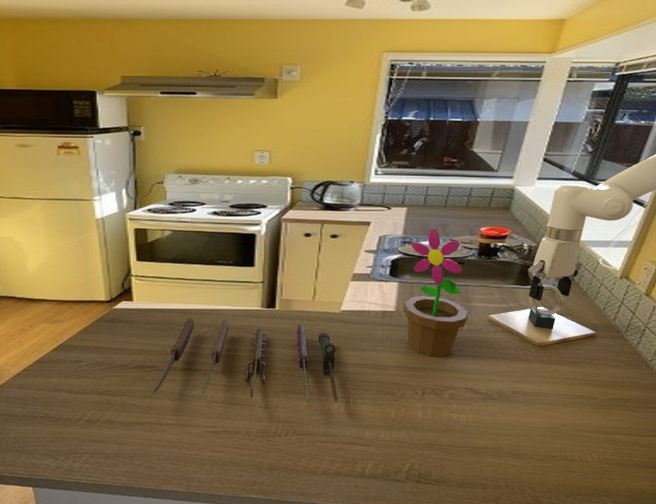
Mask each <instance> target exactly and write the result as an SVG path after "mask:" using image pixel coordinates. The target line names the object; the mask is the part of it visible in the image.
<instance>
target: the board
mask: <svg viewBox="0 0 656 504" xmlns="http://www.w3.org/2000/svg"><path fill="white" fill-rule="evenodd" d="M530 309H531V308H527V309H521V310H514V311H508V312H501V313H495V314H489V315H488V317H487V319H488V320H490V321H492V322H494V323H495V324H497V325H499V326H501V327H503V328H504V329H506V330H508V331H510V332H511V333H513V334H515V335H517V336H518V337H520V338H522V339H524V341H525V340H526V341H527V342H529V343H530V344H532V345H534V346H536V347H543V346H549V345H553V344H558V343H565V342H568V341H573V340H579V339H584V338H589V337H594V336H596V333H597V332H596V331H594V330H592V329H590V328H588V327H586V326H583V325H581V324H579V323H577V322H575V321H572V320H570V319H568V318H566V317H564V316H562V315H560V314H557V313H555V314H552V315H553V316H554V317H555V322H554V326H553V329H547V328H539V327H534V325H533V324H532V322H531V321H530V320H529V318H528V317H529V313H530ZM537 309H545V310H548V309H547V308H545V307H543V306H539V307H537Z"/></svg>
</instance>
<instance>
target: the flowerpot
mask: <svg viewBox="0 0 656 504" xmlns="http://www.w3.org/2000/svg"><path fill="white" fill-rule="evenodd" d="M427 238H428V246H429V247H430V249H431V250H430V249H429V247H428V246H427V245H426V244H424V243H422V242H419V241H417V242H416V241H413V242H412V243H411V247H412V249H413V250H414V252H416V253H417V254H418V255H421V256H427V258H423V259H421V260H419V261H418V262H416V264H415V266H414V268H413V270H414V272H415V273H423V272H424V271H426V270H428V269H430V267H431V265H433V266H432V269H431V276H432V277H431V278H432V280H433V282H434V283H435V285H436V288H435V287H433V286H429V285H427V286H421V287H420V290H421V291H422V292H424V293H425V294H426V295H417V296H412V297H409V298H407V299H406V301H405V302H404V303H403V313H404V315H405V317H406V318H407V343H408V345H409V347H410V348H411V350H413V351H415V352H416V353H418V354H420V355H421V354H422V355H424V356H428V357H435V358H436V357H437V358H441V357H443V358H444V357H446V356H449V355H450V354H451V353H452V351H453V348H454V345H455V342H456V339H457V336H458V333H459V330H460V329H461V328H464V327H465V325H466V324H467V321H468V315H469V312H468V311H467V309H466V308H465V307H464V306H463V305H461V304H459V303H457V302H455V301H454V300H453V301H452V300H450V299H446V298H442V297H441V289H443V290H444V291H445V292H446V293H448V294H451V295H459V294H460V292H461V291H460V290H459V289H460V288H459V287H458V286H457V284H456V282H454V281H453V280H451V279H450V278H444V271H443V268H444V269H445V270H447V271H449V272H450V273H452V274H461V273H462V271H463V269H462V267H461V266H460V265H459V262H456V261H455V260H453V259H451V258H445V257H444V256H450V255H452V254H453V253H455V252H456V251H457V250H458V248H459V247H460V244H461V243H460V242H459V241H458V240H452V241H451V240H450V241H449V242H446V244H444V245H442V247H441V249H440V250H439V248H440V247H439V246H440V245H441V242H440V234H439V233H438V232H437V230H436V229H435V228H432V229H430V231H429V233H428V236H427Z"/></svg>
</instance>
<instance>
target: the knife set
mask: <svg viewBox="0 0 656 504" xmlns="http://www.w3.org/2000/svg"><path fill="white" fill-rule="evenodd" d="M186 319H187V320H186V321H185V323H184V325H183V328H182V330H181V332H180V334H179V336H178V337H177V340H176V342H175V343H174V345H173V346H172V348H171V350H170V353H171V354H170V355H171V356H170V359H169V361H168V362H167V365H166V367H165V369H164V371H163V373H162V375H161V376H160V378H159V380H158V382H157V384H156V386H155V387H154V389H153V391H152V394H151V395H153V394H155V393H156V392H157V391H159V389H160V388H161V386H162V384H163V383H164V382H165V379H166V378H167V375H169V372H170V369H171V368H172V366H173V364H175V362H178V361H180V358H181V357H182V355H183V354H184V352H185V349H186V348H187V345H188V343H189V340H190V338H191V335H192V333H193V331H194V329H195V328H194V327H195V326H194V325H195V324H194V322H195V321H194V318H189V317H188V318H186ZM305 329H306V328H305V325H303V324H298V325H297V329H296V339H297V340H296V343H297V357H298V359H297V361H298V367H299V368H300V369H302V371H303V382H304V383H303V384H304V391H305V392H304V393H305V400H306V402H309V395H308V384H307V372H306V369H307V367H308V362H309V360H308V351H307V341H306V330H305ZM228 333H229V321H228V320H222V321H221V323H220V327H219V331H218V333H217V334H218V335H217V338H216V342H215V344H214V346H213V349H212V351H211V364H210V368H209V371H208V373H207V377H206V380H205V382H204V386H203V389H202V391H201V393H202V394H204V393H205V391H206V389H207V386H208V383H209V380H210V378H211V376H212V375H211V374H212V371H213V368H214V365H216V364H219V363H220V361H221V358H222V356H223V352H224V349H225V345H226V340H227V337H228ZM253 335H254V336H255V337H251V339H252V340H255V341H254V342H250V345H254V348H250V349H249V350H250V351H253V354H252V355H248V357H249V358H252V360H250V361H247V363H246V370H245V371H246V372H245V377H244V378H245V379H244V382H248V381H249V375H250V365H252V367H251V369H252V371H253V379H252V386H251V389H250V398H251V399H253V397H254V392H255V391H254V390H255V385H256V384H255V383H256V378H257V377H256V376H257V375H256V374H257V372H260V370H261V366H262V372H261V373H262V374H261V382H262V384H263V383H265V380H266V367H267V366H266V363H265V362H263V361H262V359H264V358H266V356H264V355H262V353H263V352H267V349H263V346H267V345H268V344H267V343H265V342H264V341H267V340H268V339H267V338H264V336H268V334H266V333H265V332H264V329H263V328H257V329H256V332H255V333H253ZM330 339H331V338H330V335H329V334H328V333H327V332H321V333H320V334H319V335H318V344H319V345H320V352H321V359H322V372H323V375H328V376H329V379H330V380H329V381H330V386H331V392H332V398H333V402H334V403H335V404H338V403H339V397H338V393H337V387H336V382H335V381H336V380H335V377H334V368H335V361H336V360H335V353H336V350H337V349H336V345H335V344H334V343H333V342H331V340H330Z"/></svg>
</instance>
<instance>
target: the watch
mask: <svg viewBox="0 0 656 504" xmlns="http://www.w3.org/2000/svg"><path fill="white" fill-rule="evenodd" d="M542 286H544V289H543V290H546V289H550V294H551V296H552V298H553V300H554V302H555V303H556V305H555V306H554V307H553V308H551V309H547V310H545V309H546V308H545V309H537V308H538V306H537V305H536V302H535V299H534V298H531V297H530V296H529V295H528V300H529V303H530V305H531V307H530V308H529V309H530V313H529V317H528V318H529V320H530V321H531V322H532V324H533V325H534V327H539V328H547V329H553V326H554V322H555V317H554V316H553V315H552V314H555V313H556V314H557V313H559V312H560V311H561V310H562V309H563V308H564V305H566V302H565V300H564V296H563V295H562V294H561V293H560V291H559V290H558V288H557V286H553V285H551V284H548V283H544V284H543V285H542Z"/></svg>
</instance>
